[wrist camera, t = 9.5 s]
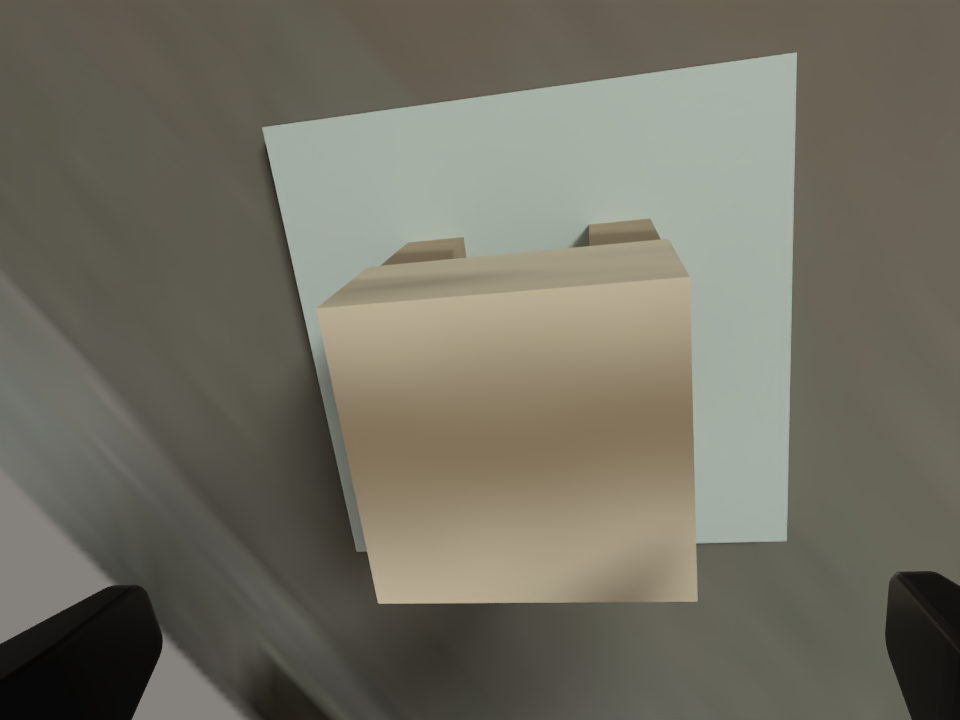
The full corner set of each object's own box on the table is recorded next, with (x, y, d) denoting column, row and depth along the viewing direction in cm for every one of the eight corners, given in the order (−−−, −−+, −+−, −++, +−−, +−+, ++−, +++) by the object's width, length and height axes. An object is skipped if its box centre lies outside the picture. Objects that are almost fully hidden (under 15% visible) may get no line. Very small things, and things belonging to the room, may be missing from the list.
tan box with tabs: (663, 446, 18) (697, 601, 13) (438, 456, 19) (378, 603, 14) (654, 213, 16) (689, 277, 11) (403, 238, 17) (316, 308, 12)
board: (779, 523, 19) (786, 540, 19) (364, 536, 22) (356, 551, 21) (786, 54, 15) (796, 52, 15) (275, 125, 18) (262, 127, 17)
